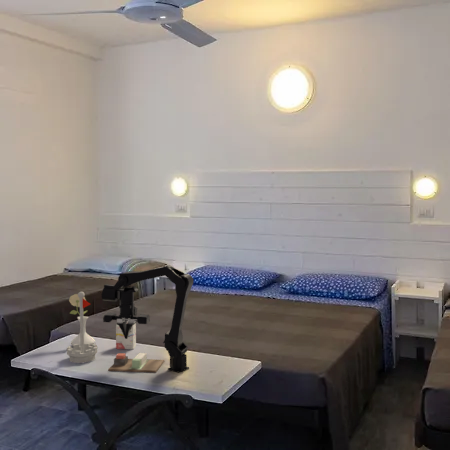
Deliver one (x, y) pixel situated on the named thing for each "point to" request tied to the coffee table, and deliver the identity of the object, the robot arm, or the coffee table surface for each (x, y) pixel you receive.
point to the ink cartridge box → (125, 343)
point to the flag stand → (82, 340)
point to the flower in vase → (76, 302)
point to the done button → (121, 356)
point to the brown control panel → (126, 365)
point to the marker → (139, 360)
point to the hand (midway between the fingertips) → (126, 338)
